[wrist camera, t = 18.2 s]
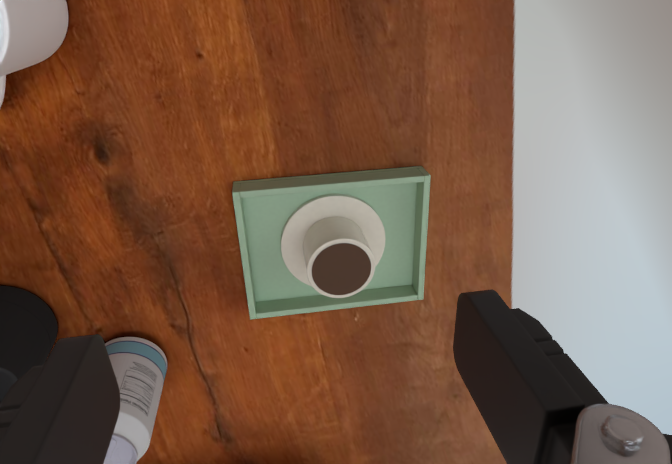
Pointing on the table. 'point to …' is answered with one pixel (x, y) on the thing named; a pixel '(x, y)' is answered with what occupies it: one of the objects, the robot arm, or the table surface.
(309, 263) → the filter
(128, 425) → the beverage can
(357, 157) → the table surface
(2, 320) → the pen holder
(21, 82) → the table surface
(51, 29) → the cup
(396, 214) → the tray
